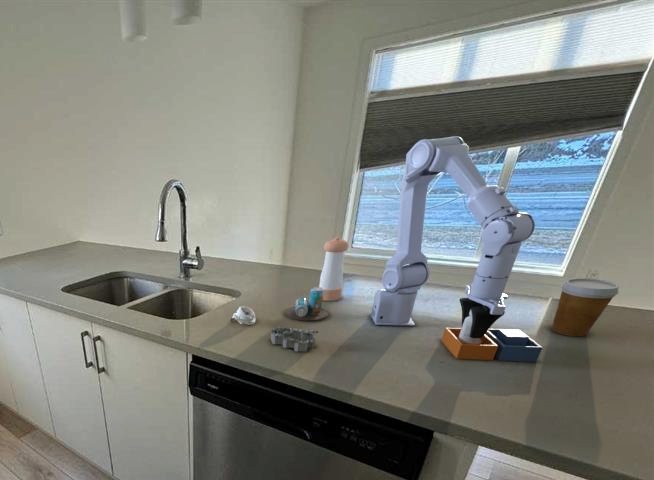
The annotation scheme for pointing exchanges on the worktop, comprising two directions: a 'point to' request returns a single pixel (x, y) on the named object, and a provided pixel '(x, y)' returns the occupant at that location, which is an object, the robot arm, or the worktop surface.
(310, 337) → the egg carton
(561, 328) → the disposable coffee cup
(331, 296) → the pepper shaker
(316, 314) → the round serving tray
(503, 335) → the blue block
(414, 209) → the robot arm
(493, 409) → the worktop surface
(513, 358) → the blue bin
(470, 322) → the pill bottle
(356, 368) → the worktop surface
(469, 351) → the amber bin
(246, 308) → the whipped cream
